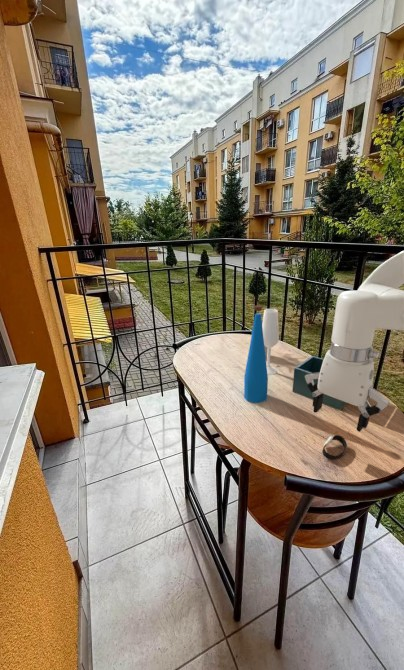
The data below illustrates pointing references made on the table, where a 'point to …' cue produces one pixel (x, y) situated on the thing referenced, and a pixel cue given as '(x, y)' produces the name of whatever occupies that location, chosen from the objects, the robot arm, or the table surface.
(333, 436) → the watch
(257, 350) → the bottle
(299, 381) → the tin box
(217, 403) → the table surface
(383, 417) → the table surface
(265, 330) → the champagne flute
